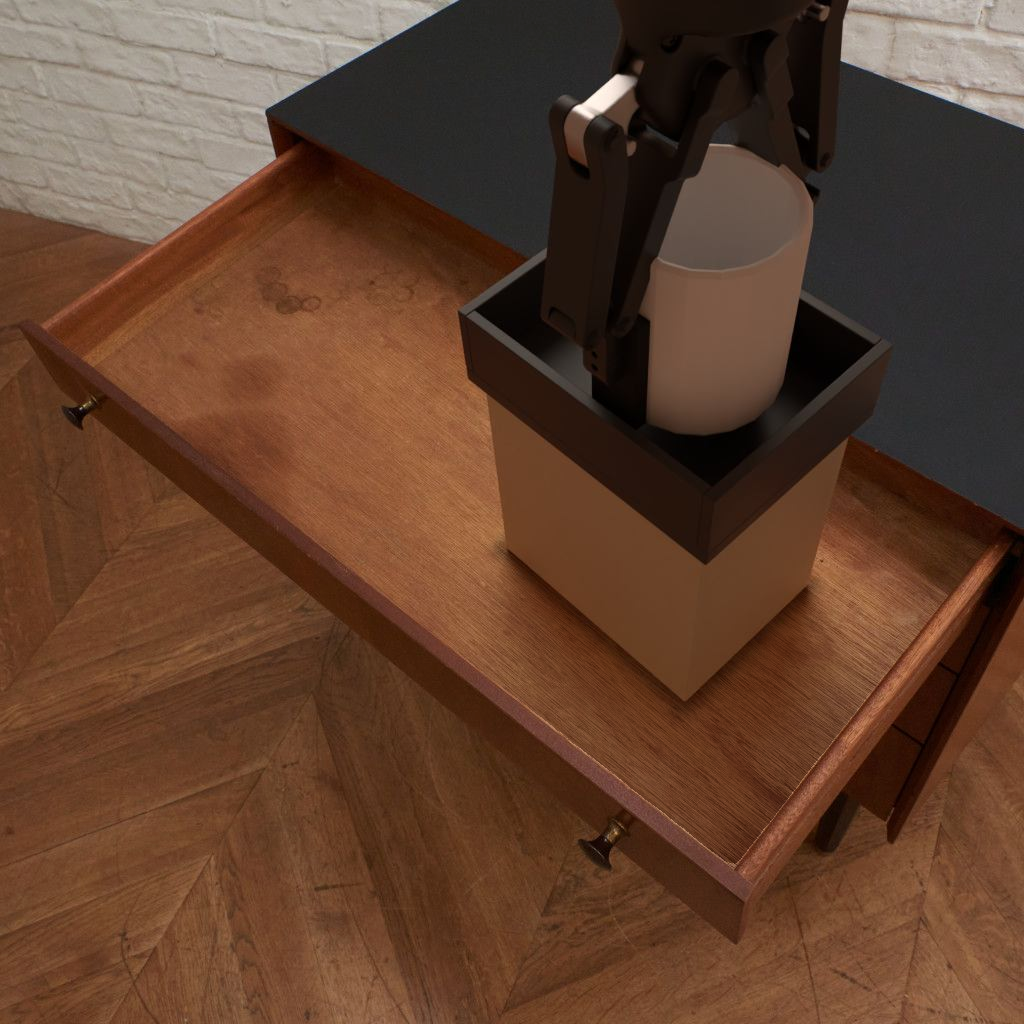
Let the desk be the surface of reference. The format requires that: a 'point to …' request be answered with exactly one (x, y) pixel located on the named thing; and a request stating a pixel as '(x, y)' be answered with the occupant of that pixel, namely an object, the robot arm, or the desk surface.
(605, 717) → the desk surface
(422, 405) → the desk surface
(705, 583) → the stand
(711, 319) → the mug
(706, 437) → the basket
